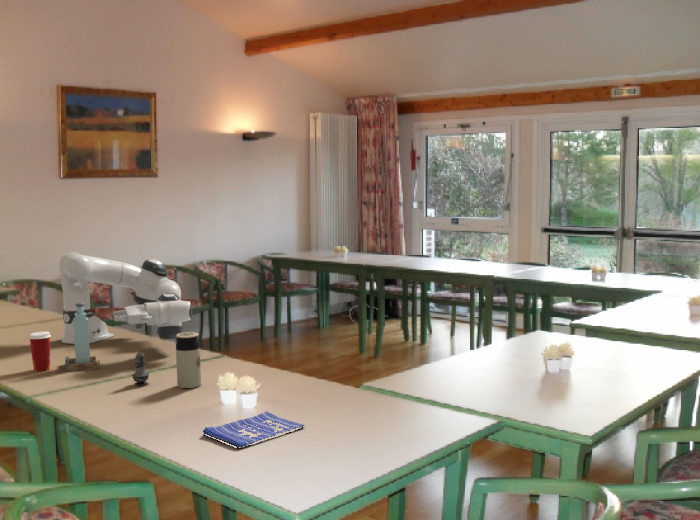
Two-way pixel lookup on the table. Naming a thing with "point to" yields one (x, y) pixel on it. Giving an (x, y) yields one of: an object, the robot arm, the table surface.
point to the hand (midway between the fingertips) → (113, 316)
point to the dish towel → (232, 435)
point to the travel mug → (188, 360)
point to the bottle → (81, 335)
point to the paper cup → (40, 350)
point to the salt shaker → (140, 372)
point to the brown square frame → (81, 364)
